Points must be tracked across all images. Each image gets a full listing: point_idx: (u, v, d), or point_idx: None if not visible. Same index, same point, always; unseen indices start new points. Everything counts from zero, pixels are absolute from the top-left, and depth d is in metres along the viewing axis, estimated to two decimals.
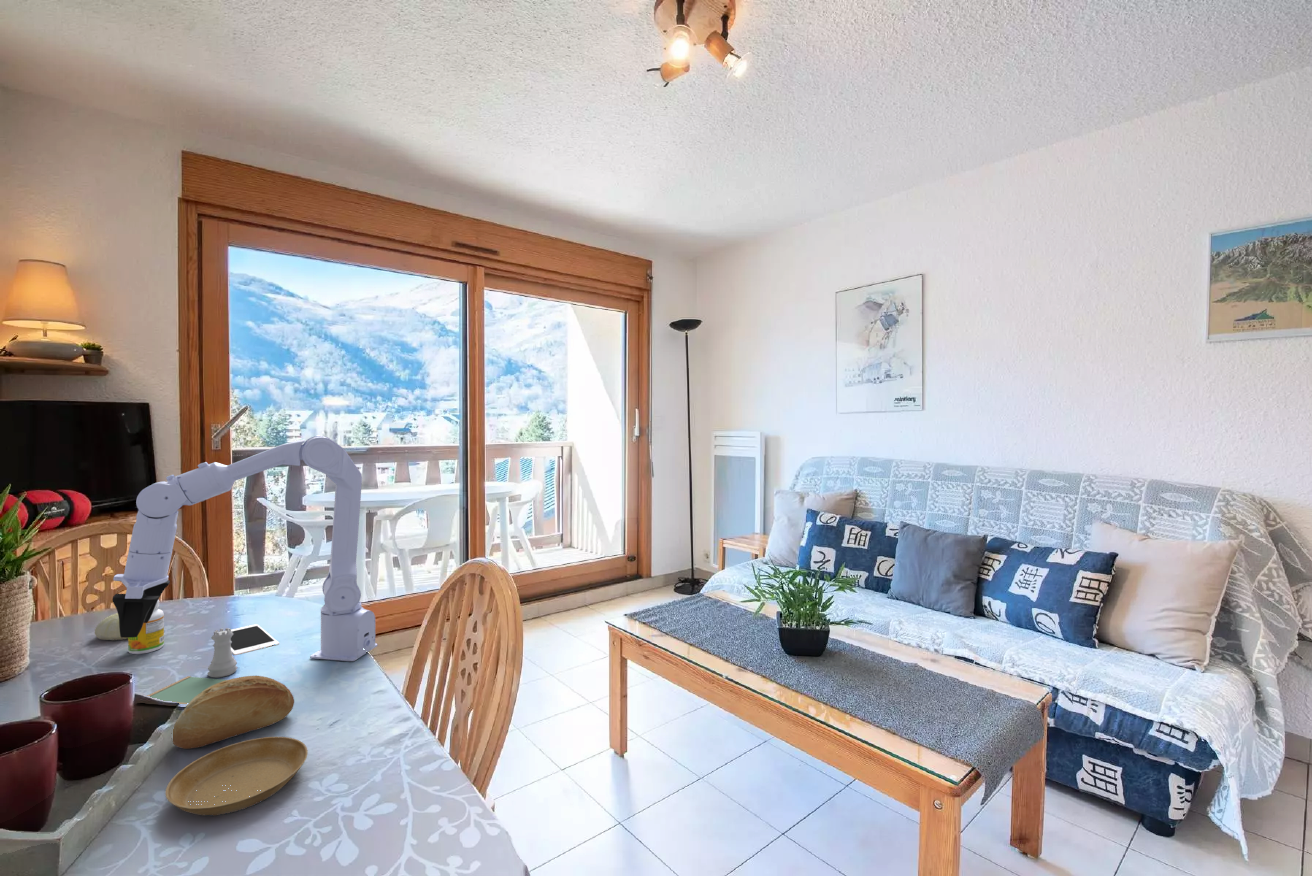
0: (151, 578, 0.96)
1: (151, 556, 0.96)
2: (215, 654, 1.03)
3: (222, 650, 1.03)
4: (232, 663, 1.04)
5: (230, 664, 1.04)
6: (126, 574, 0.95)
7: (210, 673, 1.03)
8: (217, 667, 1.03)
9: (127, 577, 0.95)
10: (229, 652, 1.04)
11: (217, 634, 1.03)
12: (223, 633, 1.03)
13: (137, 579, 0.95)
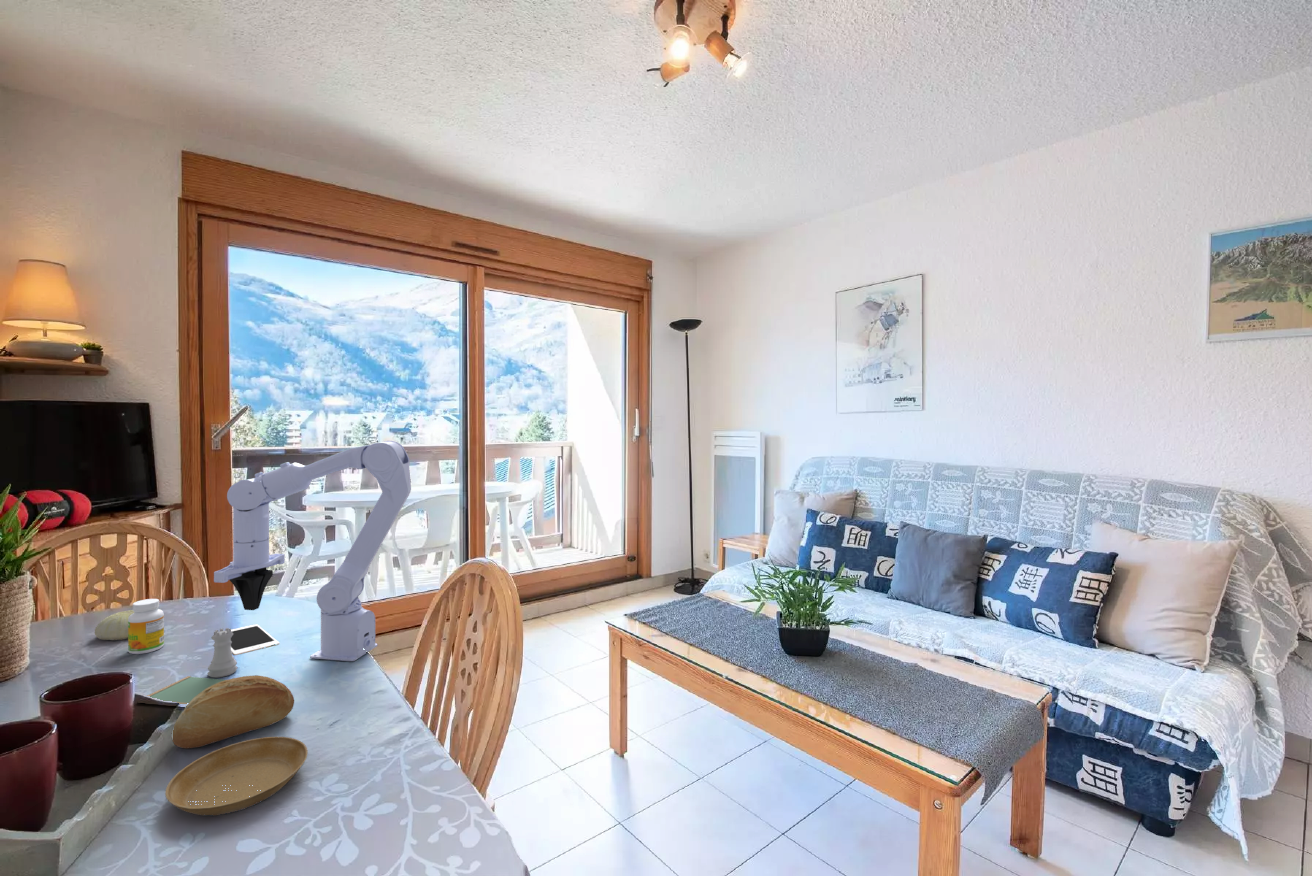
0: (245, 564, 1.08)
1: (242, 545, 1.07)
2: (215, 654, 1.03)
3: (222, 650, 1.03)
4: (232, 663, 1.04)
5: (230, 664, 1.04)
6: None
7: (210, 673, 1.03)
8: (217, 667, 1.03)
9: (233, 563, 1.09)
10: (229, 652, 1.04)
11: (217, 634, 1.03)
12: (223, 633, 1.03)
13: (236, 565, 1.08)
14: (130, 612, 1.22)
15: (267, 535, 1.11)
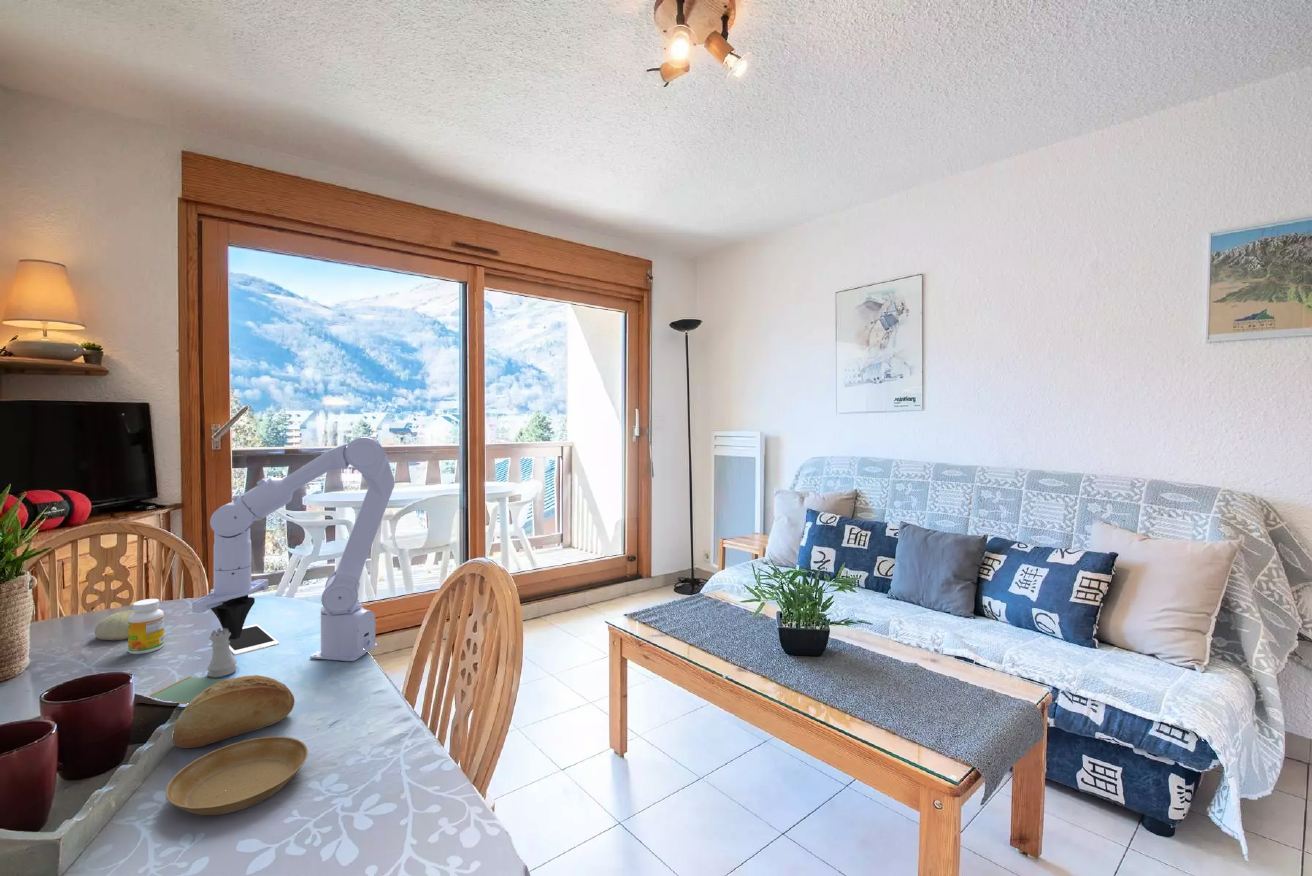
0: (226, 593, 1.04)
1: (222, 572, 1.03)
2: (214, 654, 1.03)
3: (220, 650, 1.03)
4: (231, 662, 1.04)
5: (229, 664, 1.04)
6: None
7: (210, 673, 1.03)
8: (216, 667, 1.02)
9: (213, 591, 1.05)
10: (228, 652, 1.04)
11: (214, 635, 1.03)
12: (220, 634, 1.03)
13: (216, 593, 1.04)
14: (130, 612, 1.22)
15: (250, 561, 1.07)
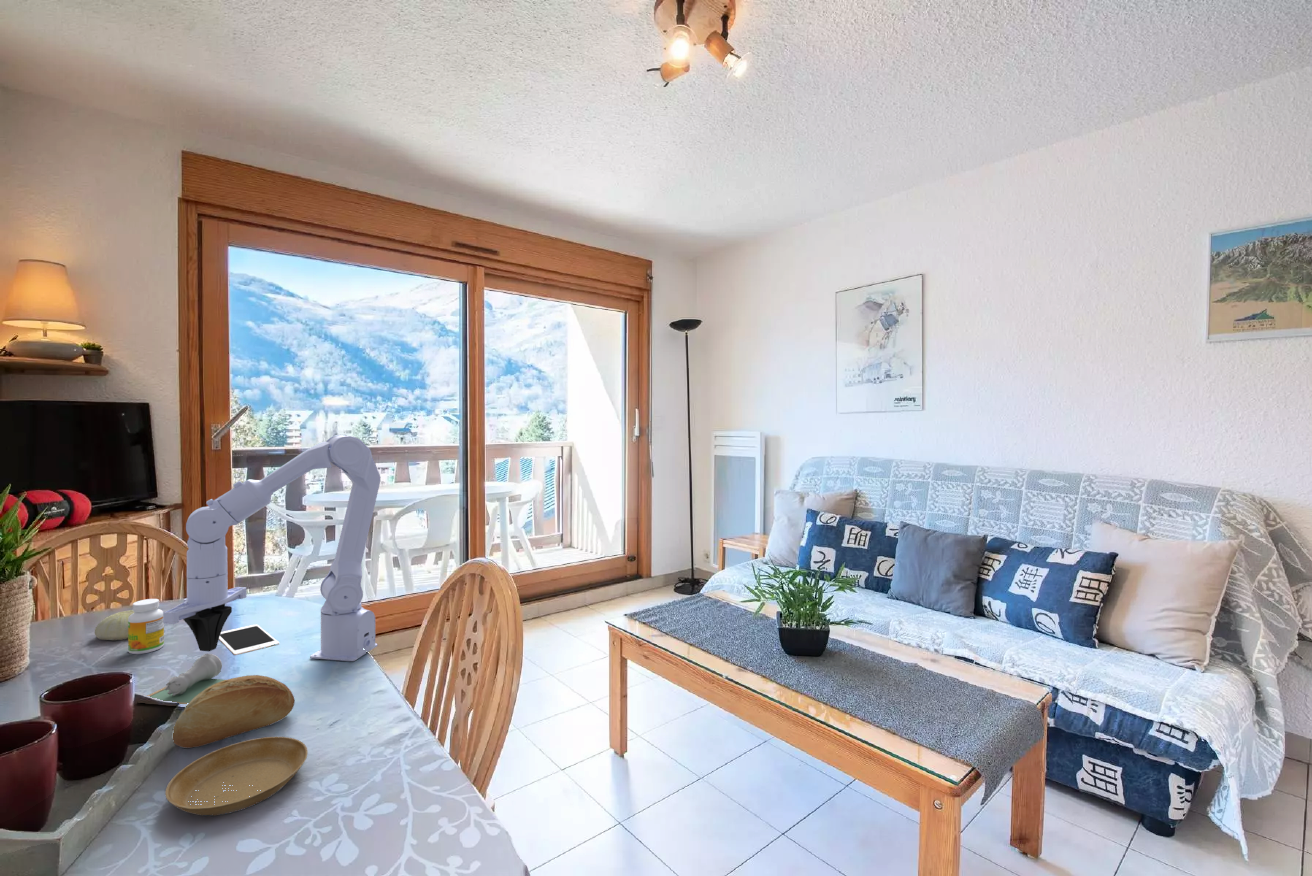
0: (200, 602, 0.98)
1: (196, 581, 0.98)
2: None
3: (194, 682, 0.98)
4: (213, 669, 1.00)
5: (213, 672, 1.00)
6: None
7: None
8: (207, 679, 1.00)
9: (187, 600, 0.99)
10: (200, 675, 0.98)
11: (175, 694, 0.95)
12: (179, 692, 0.94)
13: (190, 603, 0.98)
14: (130, 612, 1.22)
15: None
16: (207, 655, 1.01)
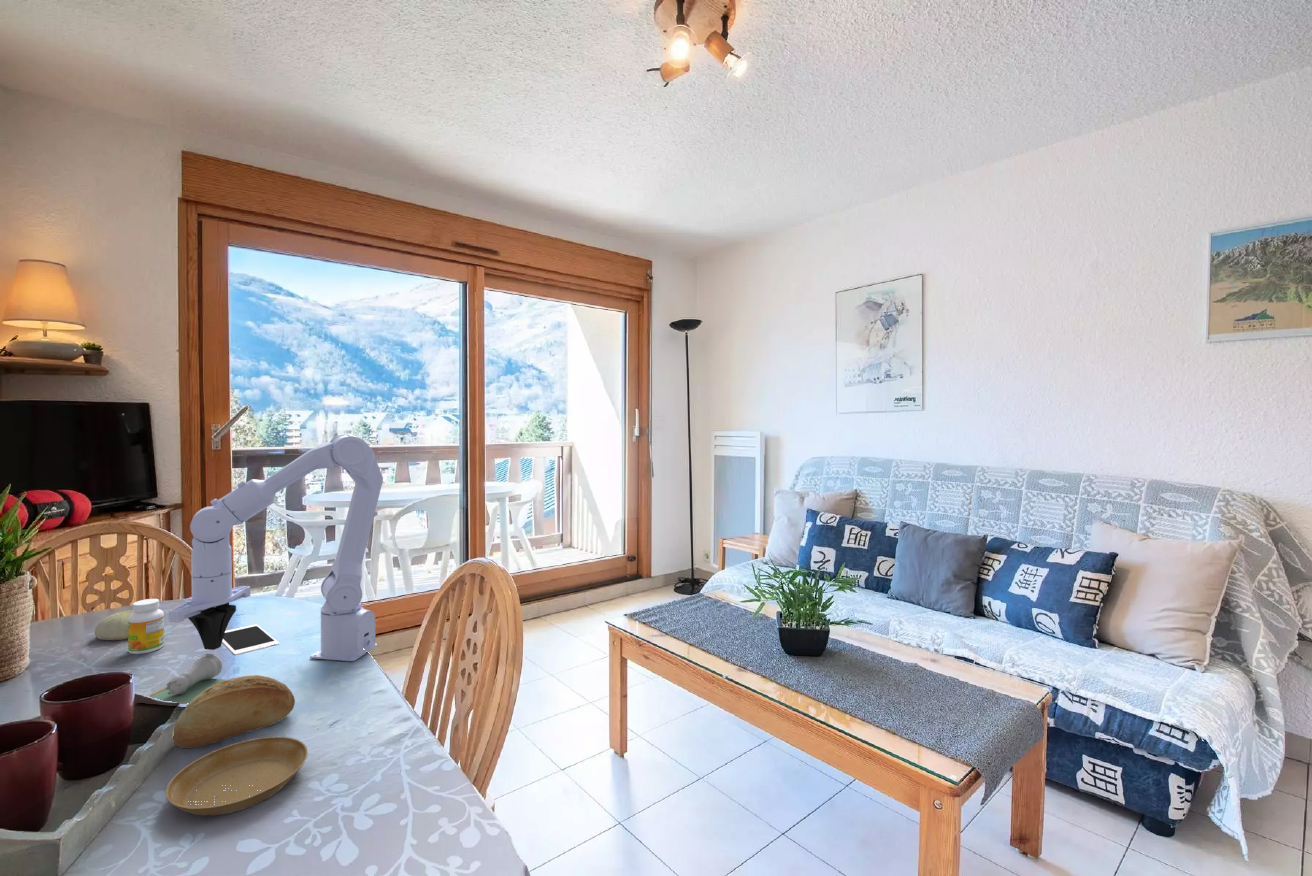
0: (204, 601, 0.99)
1: (201, 580, 0.99)
2: None
3: None
4: (213, 669, 1.00)
5: (213, 672, 1.00)
6: None
7: None
8: (207, 679, 1.00)
9: (191, 599, 1.00)
10: (200, 675, 0.98)
11: None
12: (179, 693, 0.94)
13: (194, 602, 0.99)
14: (130, 612, 1.22)
15: (231, 566, 1.03)
16: (208, 655, 1.01)
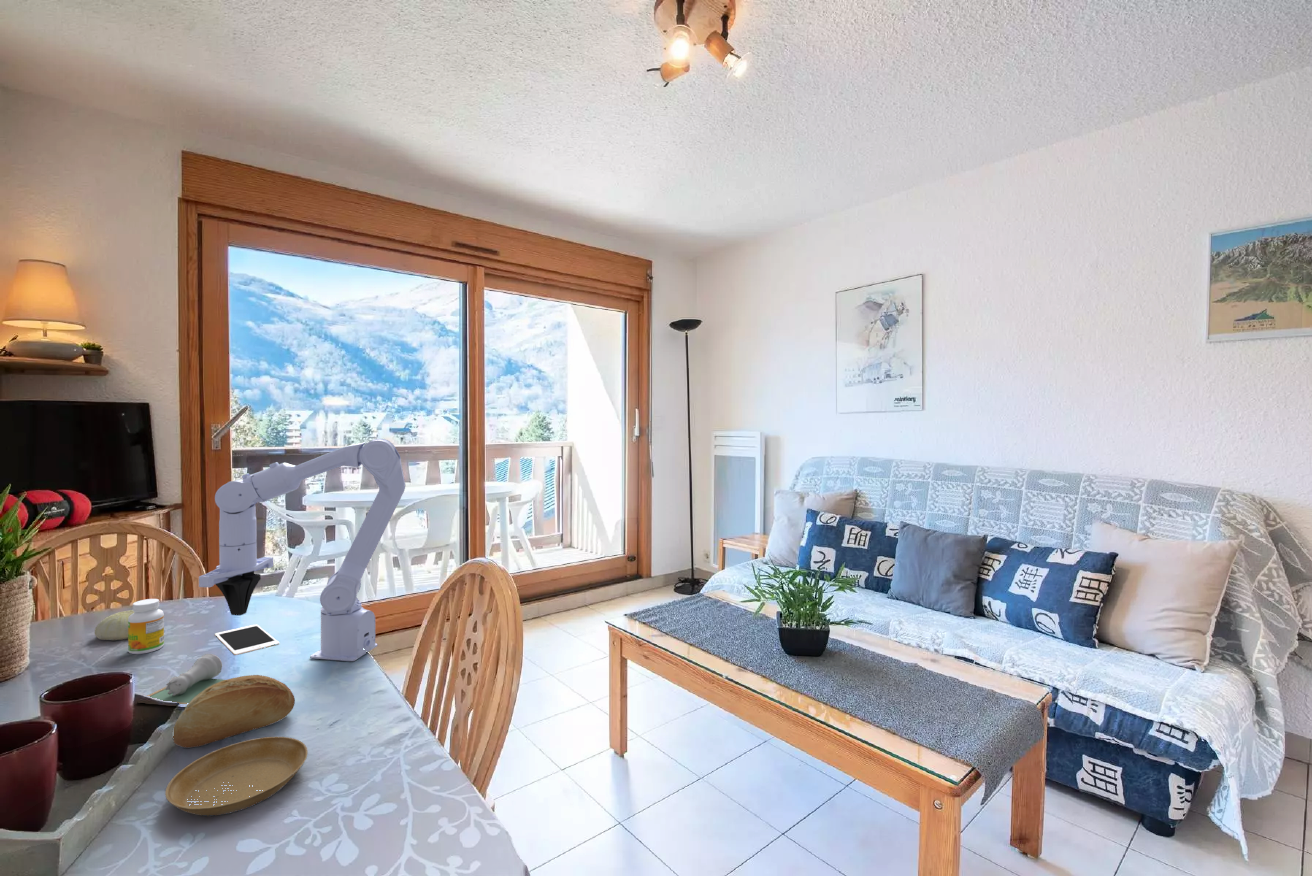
0: (232, 568, 1.05)
1: (228, 548, 1.04)
2: None
3: None
4: (213, 669, 1.00)
5: (213, 672, 1.00)
6: None
7: None
8: (207, 679, 1.00)
9: (219, 567, 1.06)
10: (200, 675, 0.98)
11: None
12: (179, 693, 0.94)
13: (222, 569, 1.05)
14: (130, 612, 1.22)
15: (255, 538, 1.08)
16: (208, 655, 1.01)
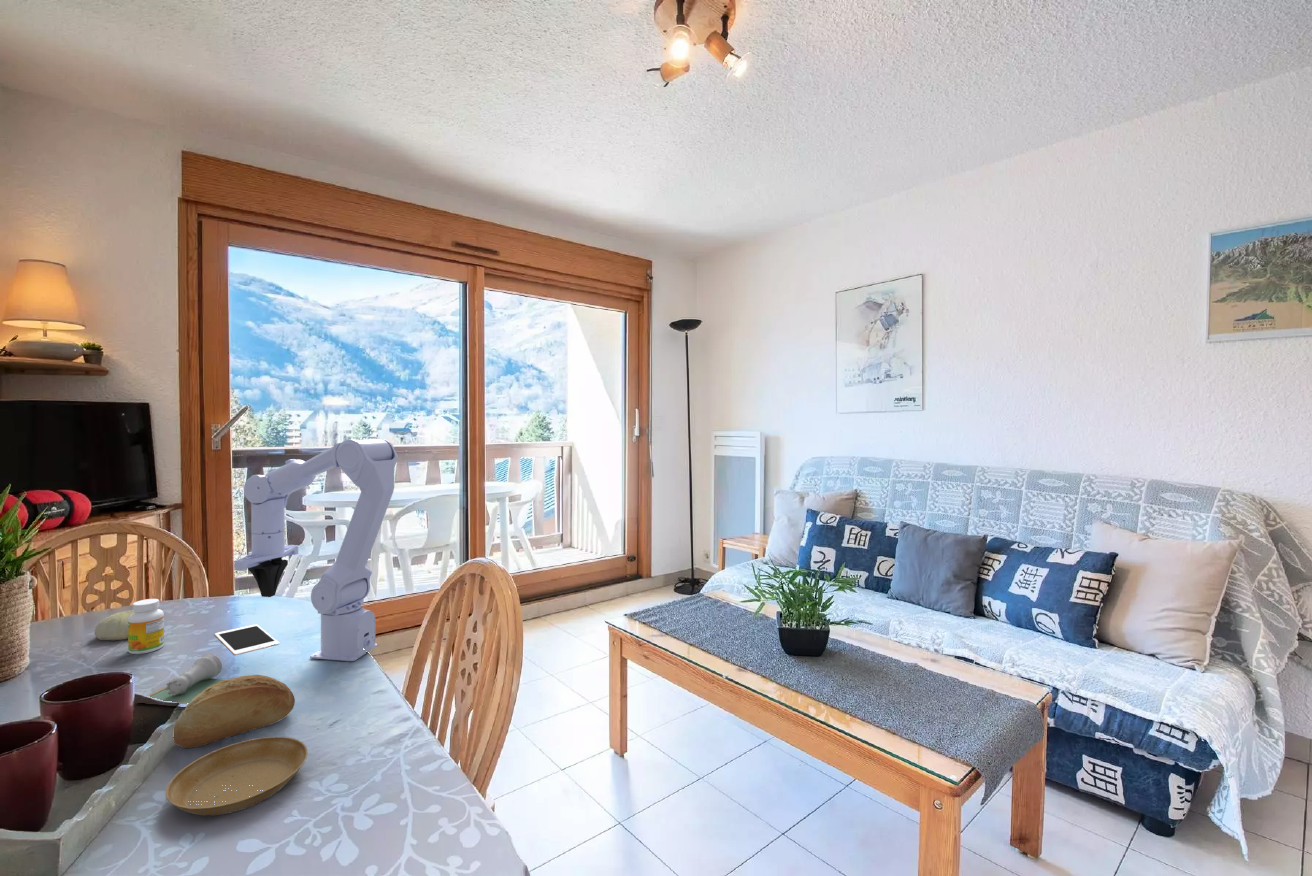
0: (263, 554, 1.15)
1: (260, 536, 1.15)
2: None
3: None
4: (213, 669, 1.00)
5: (213, 672, 1.00)
6: None
7: None
8: (207, 679, 1.00)
9: (251, 553, 1.16)
10: (200, 675, 0.98)
11: None
12: (179, 693, 0.94)
13: (254, 555, 1.15)
14: (130, 612, 1.22)
15: (278, 528, 1.17)
16: (208, 655, 1.01)
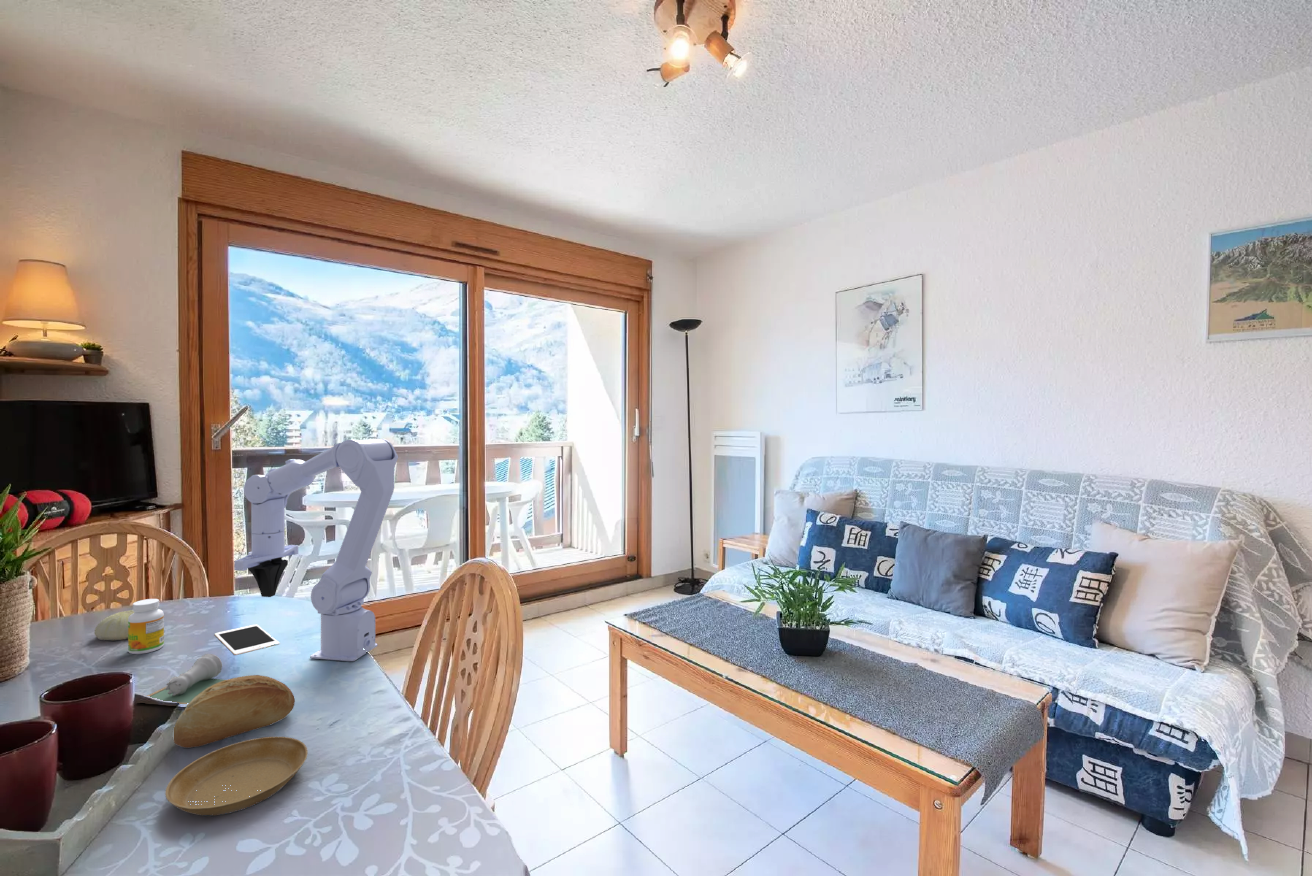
0: (263, 554, 1.15)
1: (260, 536, 1.15)
2: None
3: None
4: (213, 669, 1.00)
5: (213, 672, 1.00)
6: None
7: None
8: (207, 679, 1.00)
9: (251, 553, 1.16)
10: (200, 675, 0.98)
11: None
12: (179, 693, 0.94)
13: (254, 555, 1.15)
14: (130, 612, 1.22)
15: (278, 528, 1.17)
16: (208, 655, 1.01)
